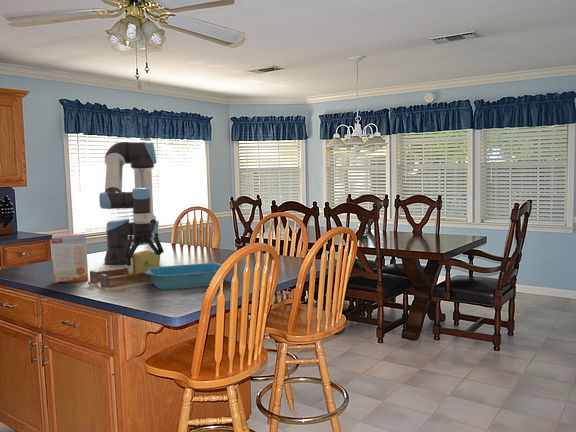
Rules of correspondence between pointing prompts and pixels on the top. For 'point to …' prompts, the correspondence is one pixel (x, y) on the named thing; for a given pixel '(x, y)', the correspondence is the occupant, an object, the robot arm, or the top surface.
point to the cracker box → (69, 258)
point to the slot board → (117, 279)
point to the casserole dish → (183, 275)
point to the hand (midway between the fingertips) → (144, 270)
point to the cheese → (144, 261)
